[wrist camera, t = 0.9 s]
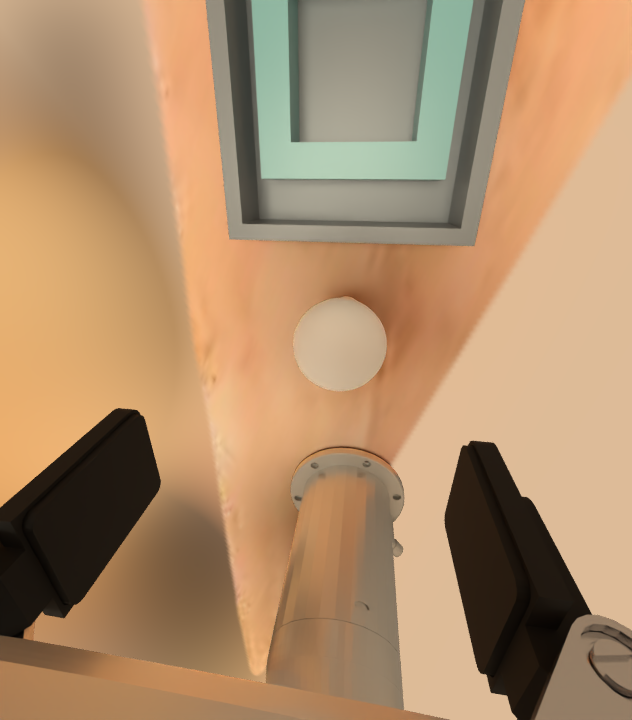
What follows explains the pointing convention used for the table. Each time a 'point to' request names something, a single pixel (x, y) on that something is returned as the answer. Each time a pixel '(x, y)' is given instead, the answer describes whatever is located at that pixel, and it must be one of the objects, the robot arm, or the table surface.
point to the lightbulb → (340, 344)
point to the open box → (359, 116)
